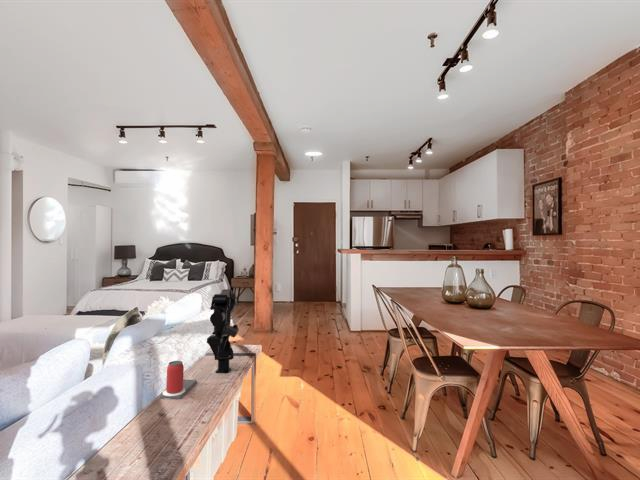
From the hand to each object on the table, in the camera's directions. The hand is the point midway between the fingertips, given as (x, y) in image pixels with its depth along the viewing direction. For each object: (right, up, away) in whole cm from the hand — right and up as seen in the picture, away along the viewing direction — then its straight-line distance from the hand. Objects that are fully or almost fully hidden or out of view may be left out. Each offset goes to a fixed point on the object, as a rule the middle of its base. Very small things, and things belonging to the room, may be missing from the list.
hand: (219, 353), depth 161 cm
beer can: (-14, -11, -16) cm, 24 cm away
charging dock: (-14, -12, -11) cm, 22 cm away
